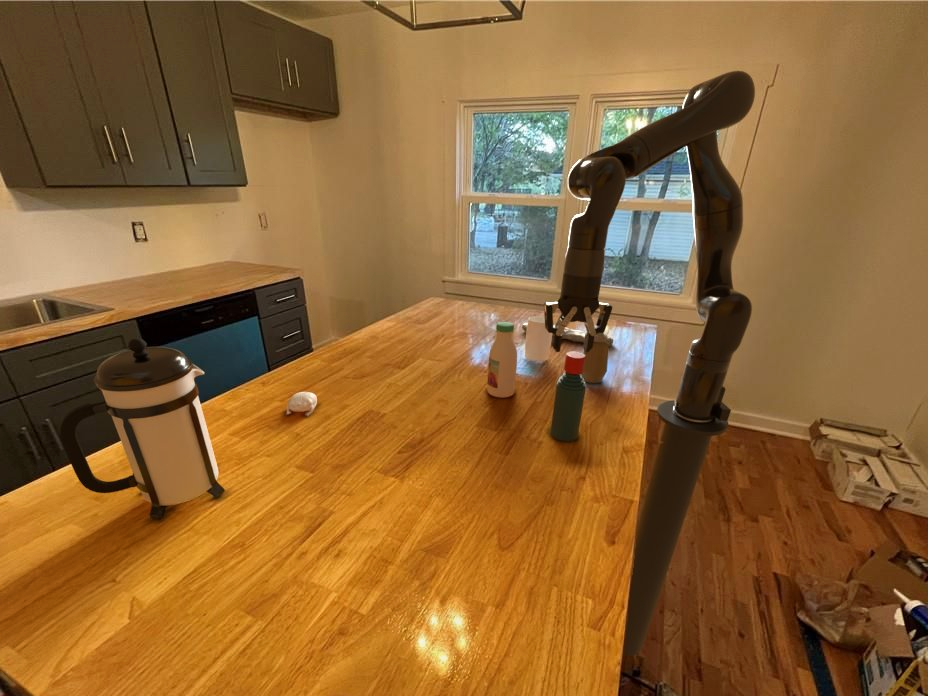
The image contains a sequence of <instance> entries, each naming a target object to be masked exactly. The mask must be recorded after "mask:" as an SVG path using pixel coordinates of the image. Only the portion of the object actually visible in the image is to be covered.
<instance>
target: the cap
mask: <svg viewBox="0 0 928 696" xmlns="http://www.w3.org/2000/svg"><path fill="white" fill-rule="evenodd" d="M584 362H585V354H583V352H580V351H573V350H572V351H568V352H566V355H565V360H564V366H563V370H564V373H565V372H567V373H570V374H581V373H583V368H584Z"/></svg>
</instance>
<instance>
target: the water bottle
mask: <svg viewBox="0 0 928 696" xmlns="http://www.w3.org/2000/svg"><path fill="white" fill-rule="evenodd" d="M586 383H587V382H586V381H584V379H583V378H582V375H581V374H570V373H567V372H565V371H564V372H563V374H562V375H561V376H560V377H559V378H558V380H557V382H556V386H555V393H554V401H553V409H552V416H551V424H550V430H549V431H550V432H549V434H550V436H551V437H552V438H554V439H556V440H558V441H560V442H561V441H562V442H572V441H573V442H574V441H575V440H577V439H578V437H579V432H580V425H581V420H582V414H583V409H584V402H585V396H586V391H587V385H586Z"/></svg>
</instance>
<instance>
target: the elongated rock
mask: <svg viewBox="0 0 928 696" xmlns="http://www.w3.org/2000/svg"><path fill="white" fill-rule="evenodd" d="M527 324H528V322H525V323H523V324H522V326H521V329H522V330H523V331H524V332H525V333H526V331H527ZM555 325H556V324H553V326H555ZM585 333H587V330H579V329H573V328H570V327H565V329H564V330H563V332H562V333H561V336H562V340H569V341H572V342H579V343H584V339H585ZM552 339H553V333H552ZM606 342H607V343H608V344H609V347H611V346H612V345H613V344H614V338H613V337H611V336H608V335H607V340H606Z"/></svg>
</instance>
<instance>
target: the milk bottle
mask: <svg viewBox="0 0 928 696" xmlns="http://www.w3.org/2000/svg"><path fill="white" fill-rule="evenodd" d="M495 329H496V331H495V332H496V336H495V339H494V340H493V343H492V345H491V346H490V349H489V353H488V354H489V355H488V365H487V366H488V367H487V382H486V383H487V384H486V390H487V391H486V392H487V393H488V394H489V395H490V396H492V397H495V398H501V399H503V398H509V397H511V396H513V395H514V394H515V391H516V380H517V367H518V349H517V346H516V344H515V341H514V335H513V334H514V332H515V331H514V330H515V324H514V323H513V322H510V321H500V322H497V323H496V327H495Z"/></svg>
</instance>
